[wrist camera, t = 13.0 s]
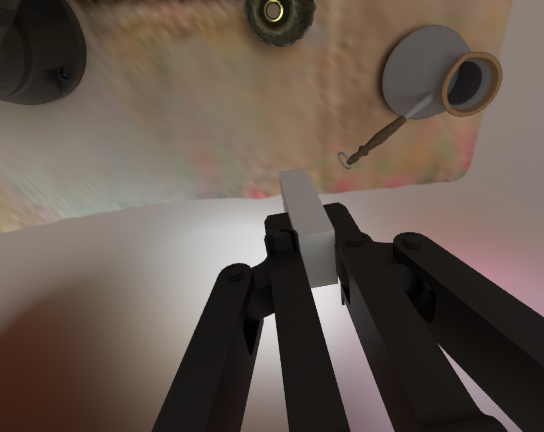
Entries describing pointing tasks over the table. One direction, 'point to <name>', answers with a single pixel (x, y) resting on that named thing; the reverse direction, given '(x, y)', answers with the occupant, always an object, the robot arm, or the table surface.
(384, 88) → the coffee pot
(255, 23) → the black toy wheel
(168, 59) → the table surface
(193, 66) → the table surface
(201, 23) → the table surface
